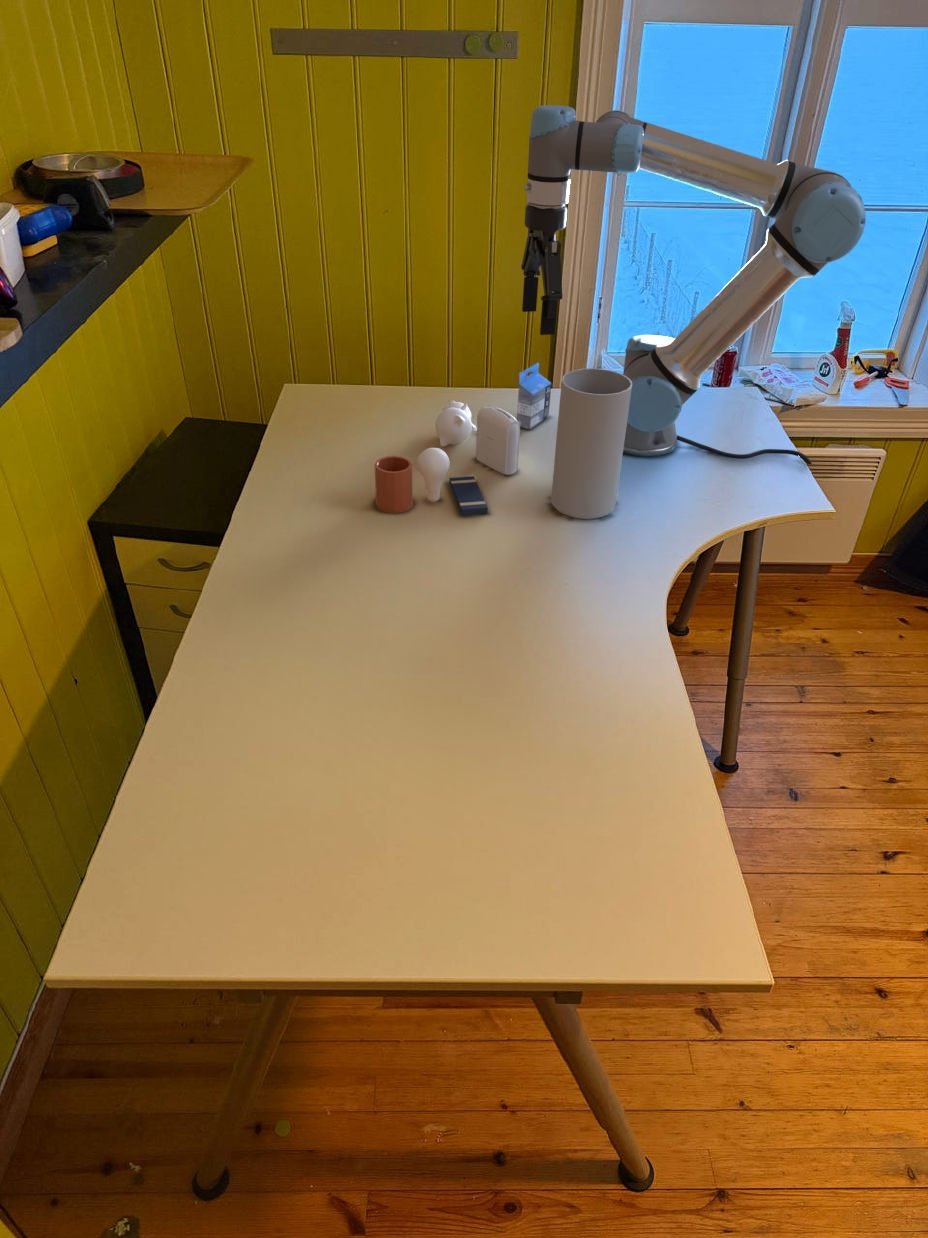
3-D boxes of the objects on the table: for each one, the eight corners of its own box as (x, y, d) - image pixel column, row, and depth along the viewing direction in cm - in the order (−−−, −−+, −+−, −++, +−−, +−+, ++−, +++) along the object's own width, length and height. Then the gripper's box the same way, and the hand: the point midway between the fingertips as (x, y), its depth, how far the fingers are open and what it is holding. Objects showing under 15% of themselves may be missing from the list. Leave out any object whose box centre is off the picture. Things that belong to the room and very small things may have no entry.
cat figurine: (453, 386, 199) (447, 406, 189) (492, 413, 202) (489, 434, 192) (431, 417, 204) (424, 438, 194) (470, 443, 206) (466, 465, 197)
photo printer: (472, 459, 192) (474, 403, 185) (488, 454, 194) (490, 398, 187) (504, 477, 186) (508, 421, 178) (520, 472, 188) (524, 415, 181)
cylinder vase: (584, 527, 170) (599, 400, 156) (537, 502, 178) (547, 378, 163) (628, 506, 177) (646, 383, 162) (580, 483, 185) (594, 363, 170)
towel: (473, 482, 184) (473, 475, 183) (487, 514, 174) (487, 507, 173) (449, 483, 183) (449, 477, 182) (461, 515, 173) (462, 509, 172)
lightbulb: (454, 497, 178) (455, 446, 172) (440, 511, 174) (441, 459, 167) (426, 490, 180) (426, 439, 174) (412, 504, 176) (411, 452, 169)
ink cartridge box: (530, 430, 204) (534, 377, 197) (515, 426, 206) (518, 373, 199) (549, 417, 210) (553, 365, 203) (534, 413, 212) (538, 361, 205)
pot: (419, 501, 177) (419, 461, 172) (400, 516, 172) (399, 475, 167) (388, 492, 180) (387, 452, 175) (369, 507, 175) (367, 466, 170)
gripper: (510, 189, 173) (504, 302, 186) (544, 221, 153) (535, 345, 166) (548, 189, 174) (539, 301, 187) (587, 220, 155) (575, 343, 167)
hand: (537, 322), depth 176 cm, fingers open, 13 cm apart
